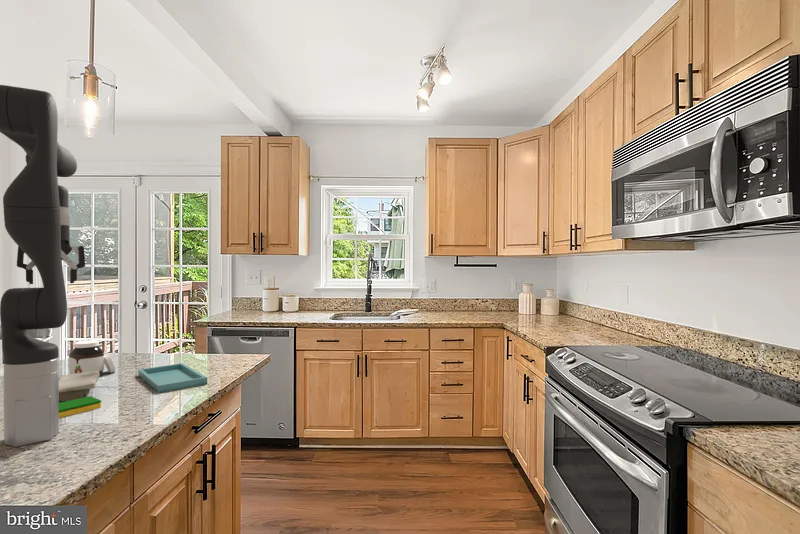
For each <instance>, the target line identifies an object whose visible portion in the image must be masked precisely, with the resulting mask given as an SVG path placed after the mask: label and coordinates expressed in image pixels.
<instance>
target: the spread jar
mask: <svg viewBox="0 0 800 534" xmlns="http://www.w3.org/2000/svg"><path fill="white" fill-rule="evenodd" d="M99 344H100V343H99V340H81V341H76V342H74V343H73V349H72V350H71V351H70V352H69V354H68V359H67V360H68V364H67V365H68V367H67V368H68V373H69V375H70V374H77V373H85V372H92V371H99V374H100V375H101V374H102V373H103V371H104V369H105V368H106V370H107V371H108V372H109V373H110V374H112V373H115V372H116V366H115V364H114V362H113V360H112V358H111V356H110V355H109V354H108V353H106V354H105V353H104V351H103V349H102V348H101V347H100V346H99Z"/></svg>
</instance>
